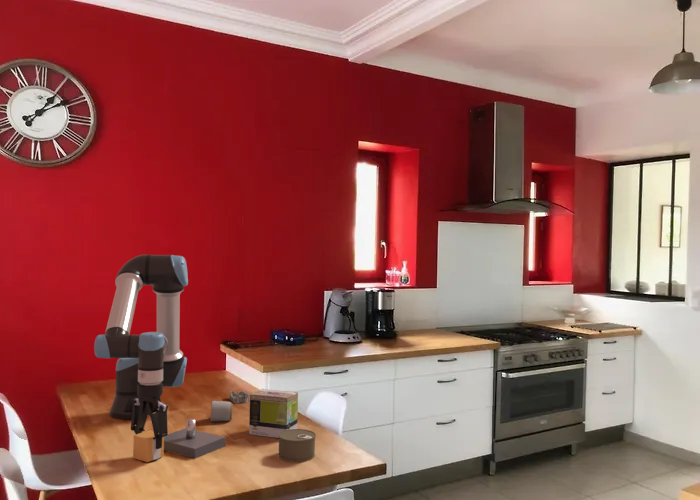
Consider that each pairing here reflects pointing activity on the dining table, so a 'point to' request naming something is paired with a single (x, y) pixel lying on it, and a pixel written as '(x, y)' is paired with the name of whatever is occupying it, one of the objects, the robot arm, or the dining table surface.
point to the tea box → (272, 412)
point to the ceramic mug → (221, 411)
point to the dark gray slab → (192, 443)
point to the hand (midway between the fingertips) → (148, 456)
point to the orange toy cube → (145, 446)
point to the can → (296, 445)
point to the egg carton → (239, 397)
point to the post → (190, 428)
